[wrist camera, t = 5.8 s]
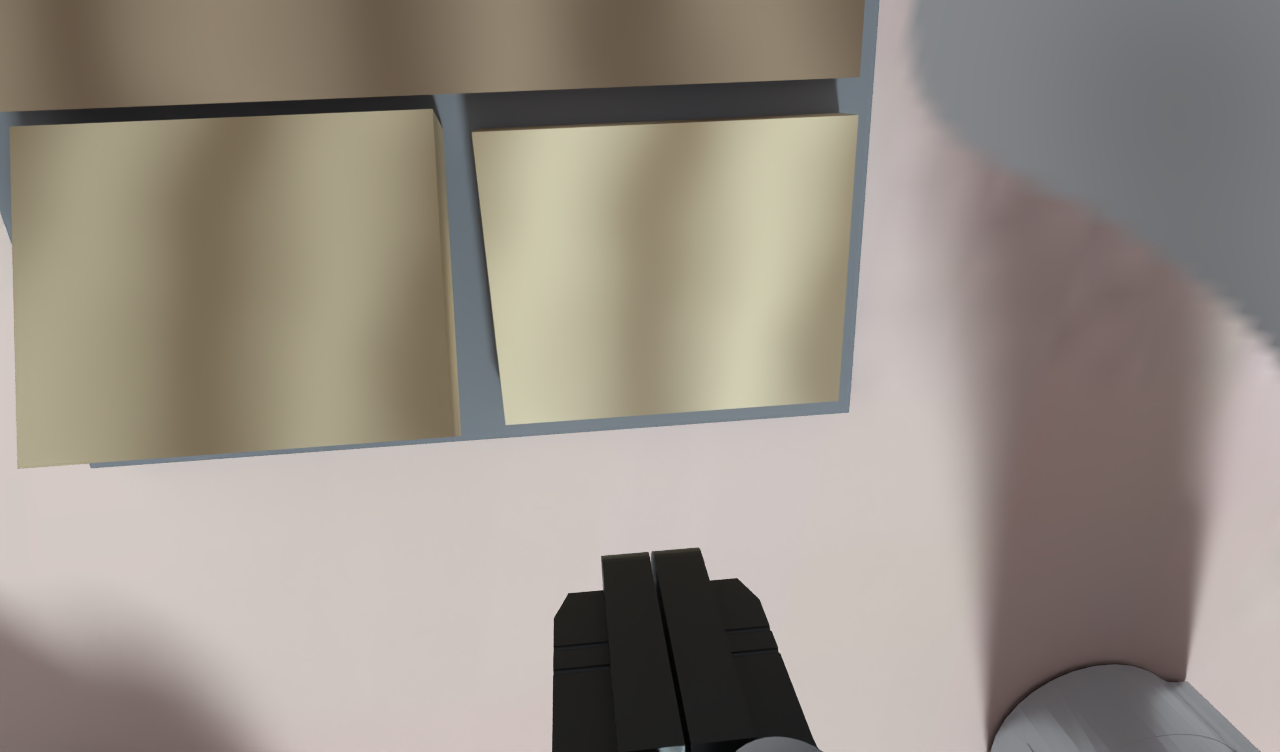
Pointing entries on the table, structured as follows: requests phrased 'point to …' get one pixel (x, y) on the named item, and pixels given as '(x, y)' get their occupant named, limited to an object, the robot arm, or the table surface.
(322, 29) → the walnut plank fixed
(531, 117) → the underlay board
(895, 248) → the table surface
